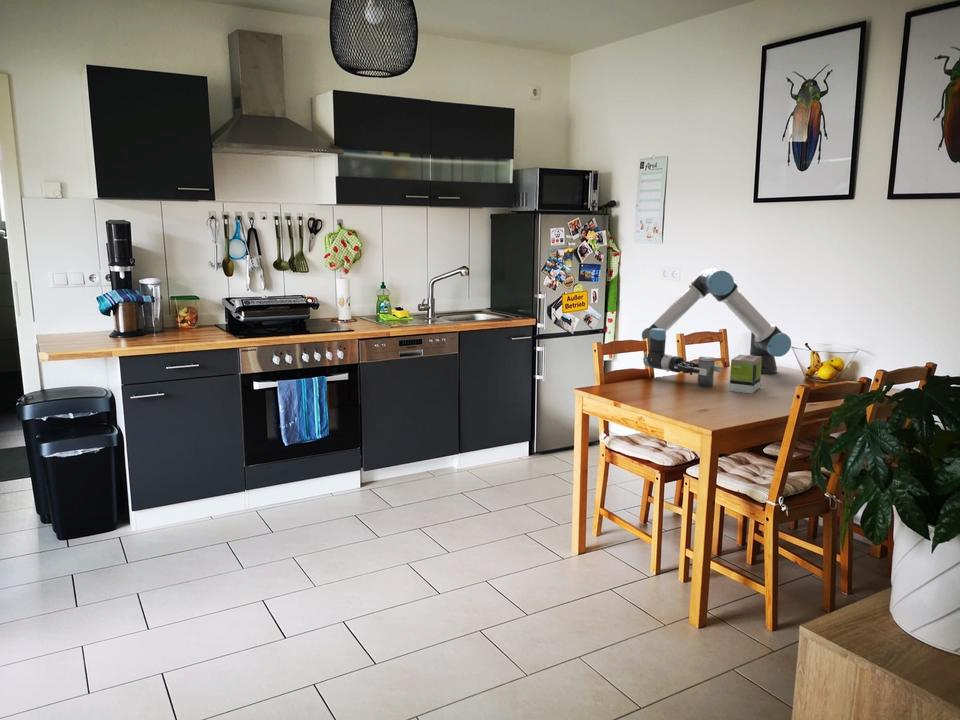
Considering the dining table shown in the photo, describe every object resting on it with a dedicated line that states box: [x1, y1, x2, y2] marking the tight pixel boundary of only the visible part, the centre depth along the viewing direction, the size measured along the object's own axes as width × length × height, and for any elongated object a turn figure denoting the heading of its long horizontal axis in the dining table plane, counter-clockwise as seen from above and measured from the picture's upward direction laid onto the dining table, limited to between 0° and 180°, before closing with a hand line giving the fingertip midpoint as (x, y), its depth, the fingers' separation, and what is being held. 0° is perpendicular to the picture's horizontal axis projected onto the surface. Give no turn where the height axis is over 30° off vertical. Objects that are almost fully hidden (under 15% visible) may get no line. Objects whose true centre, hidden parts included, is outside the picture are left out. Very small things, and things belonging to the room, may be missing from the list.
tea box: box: [729, 354, 762, 394], centre depth 321 cm, size 15×10×15 cm
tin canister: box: [696, 356, 716, 388], centre depth 328 cm, size 7×7×13 cm
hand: (713, 371), depth 325 cm, fingers open, 11 cm apart
